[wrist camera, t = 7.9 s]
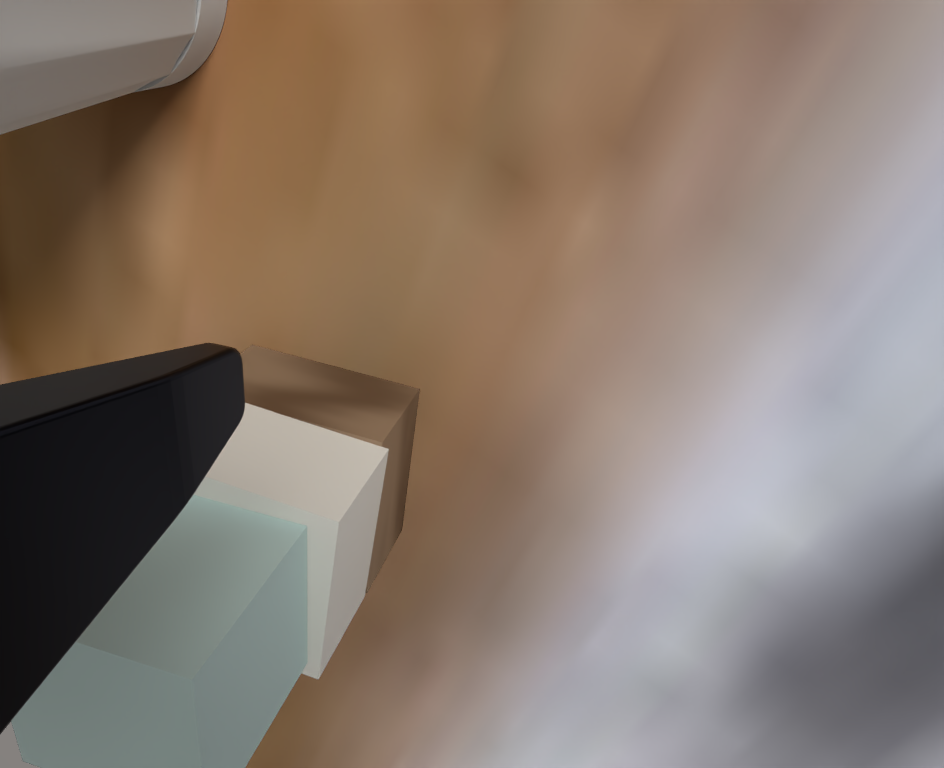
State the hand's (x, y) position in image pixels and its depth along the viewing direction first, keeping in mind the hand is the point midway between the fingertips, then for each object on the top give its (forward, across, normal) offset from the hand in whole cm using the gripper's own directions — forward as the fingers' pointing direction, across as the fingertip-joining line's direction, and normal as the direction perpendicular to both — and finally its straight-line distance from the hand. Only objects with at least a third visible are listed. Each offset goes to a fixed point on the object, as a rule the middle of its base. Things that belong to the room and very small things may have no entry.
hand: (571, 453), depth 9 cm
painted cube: (+6, +9, +10) cm, 15 cm away
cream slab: (+9, +9, +10) cm, 16 cm away
